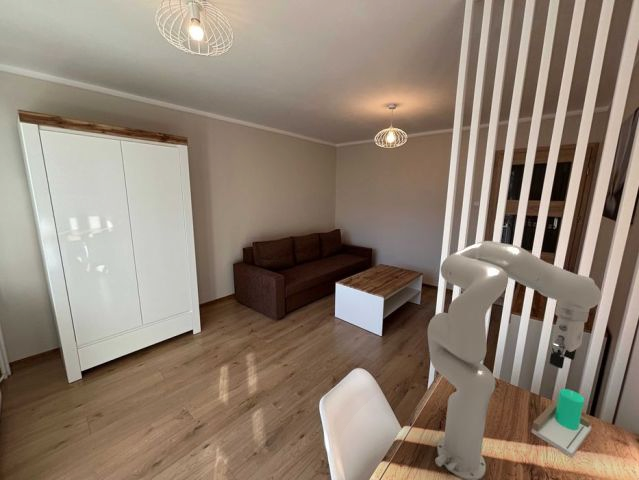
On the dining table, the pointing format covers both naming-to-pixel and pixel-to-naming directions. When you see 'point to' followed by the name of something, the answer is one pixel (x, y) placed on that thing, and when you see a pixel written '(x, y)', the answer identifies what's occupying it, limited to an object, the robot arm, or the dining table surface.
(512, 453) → the dining table surface
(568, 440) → the jig board
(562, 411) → the candle
